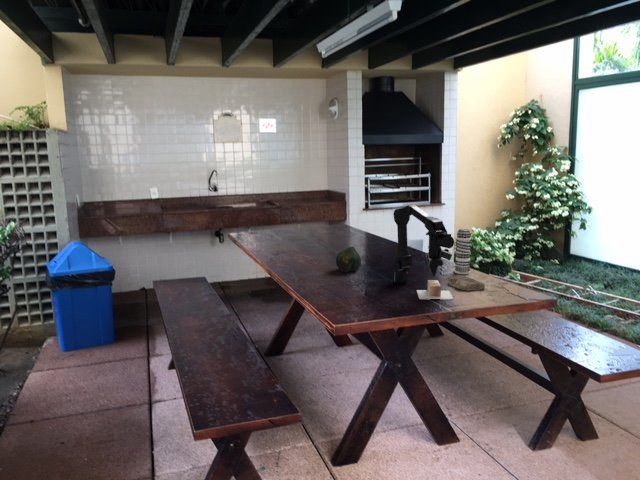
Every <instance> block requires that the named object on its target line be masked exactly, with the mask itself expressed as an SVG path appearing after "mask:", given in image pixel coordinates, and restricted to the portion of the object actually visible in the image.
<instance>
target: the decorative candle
mask: <svg viewBox="0 0 640 480" xmlns="http://www.w3.org/2000/svg"><path fill="white" fill-rule="evenodd" d="M471 236H472V231H470V229H469V228H459V229H458V230H457V231H456V239H455V241H454V245H455V253H456V255H455V256H456V257H455V260H454V261H455V263H454V264H455V266H454V272H455V273H456V274H458V275H459V274H460V275H468V274H470V273H471V253H472V252H471V250H472V248H471V247H473V246H472V245H471V244H473V242H472V241H473V239H472V237H471Z"/></svg>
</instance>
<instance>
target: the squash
mask: <svg viewBox="0 0 640 480" xmlns="http://www.w3.org/2000/svg"><path fill="white" fill-rule="evenodd" d="M335 265H336V267H337V268H338V270H339V271H340V272H343V273H344V272H346V273H347V272H349V271H351V272H353V271H358V270H359V269H360V268H361V265H362V258H361V255H360V254H359V252H358V251H357V250H356V248H355V247H354V246H349V247H347V248H345V249H343V250H342V251H340V252H339V253H338V254H337V255H336V257H335Z"/></svg>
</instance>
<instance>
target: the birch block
mask: <svg viewBox="0 0 640 480" xmlns="http://www.w3.org/2000/svg"><path fill="white" fill-rule="evenodd" d="M427 290H428V292H429V295H430V296H434V297H441V290H442V285H441V283H440V282H439V280H437V279H436V280H435V279H428V280H427Z"/></svg>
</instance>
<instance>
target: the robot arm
mask: <svg viewBox="0 0 640 480" xmlns="http://www.w3.org/2000/svg"><path fill="white" fill-rule="evenodd" d="M411 216H412V217H414V218H416V219H417V220H419V222H421V223H422V224H424V227H425V228H426V229H427V232H426V233H425V236H428V246H427V249H428V252H426V253H425V258H426V260H427V264H428V268H429V270H430V272H431V274H432V275H431V276H433V277H435V276H436V273H437V270H438V267H442V266H444V261H443V259H445V260H447V261H451V259H452V256H453V253H451V251H449V249H451V248H453V246H454V245H455V239H454V237H452V233H448V231H447V229H446V227H445V224H444V222H443V220H442V219H440V218H438V217H434V216H431V215H429V214H428V213H426V212H425V211H424V210H422V209H421V208H419V207H418V206H417V205H416V204H409V205H406V206H404V207H400V208H396V209H394V210H393V221H394V222H395V224H396V226H397V249H398V250H397V251H398V252H397V254H396V256H395V259H394V263H393V264H392V265H391V268H390V269H391V271H392V272H394V279H393V280H394V284H407V283H408V280H409V279H408V278H409V277H408V276H409V275H408V274H409V273H408V271H411V270H410V269H411V266H412V263H413V256H412V255H411V254H409V252H408V250H409V249H408V224H409V221H410V219H411ZM442 248H445V249H442ZM442 258H443V259H442Z"/></svg>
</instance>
